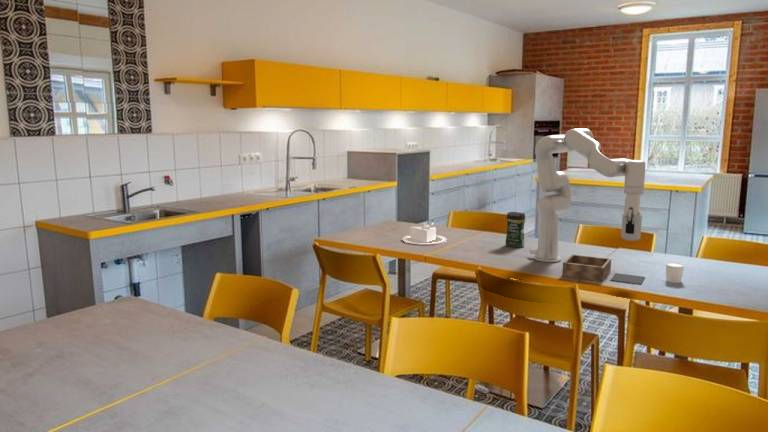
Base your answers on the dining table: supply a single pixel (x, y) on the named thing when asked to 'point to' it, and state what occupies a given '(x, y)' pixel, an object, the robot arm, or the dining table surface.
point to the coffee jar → (515, 229)
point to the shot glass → (674, 272)
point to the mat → (628, 278)
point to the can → (637, 228)
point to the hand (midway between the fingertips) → (631, 231)
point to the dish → (424, 235)
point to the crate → (587, 267)
